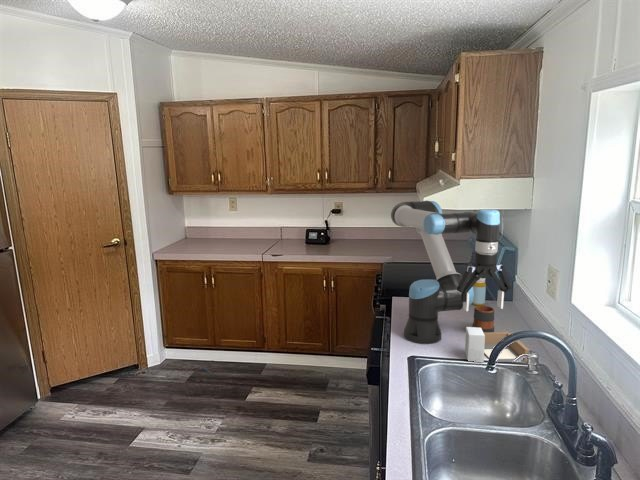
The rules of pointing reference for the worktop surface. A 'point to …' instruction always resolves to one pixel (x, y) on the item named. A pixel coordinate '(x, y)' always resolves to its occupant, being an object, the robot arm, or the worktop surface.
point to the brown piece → (509, 351)
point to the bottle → (479, 292)
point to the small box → (474, 344)
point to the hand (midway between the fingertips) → (482, 308)
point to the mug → (484, 318)
